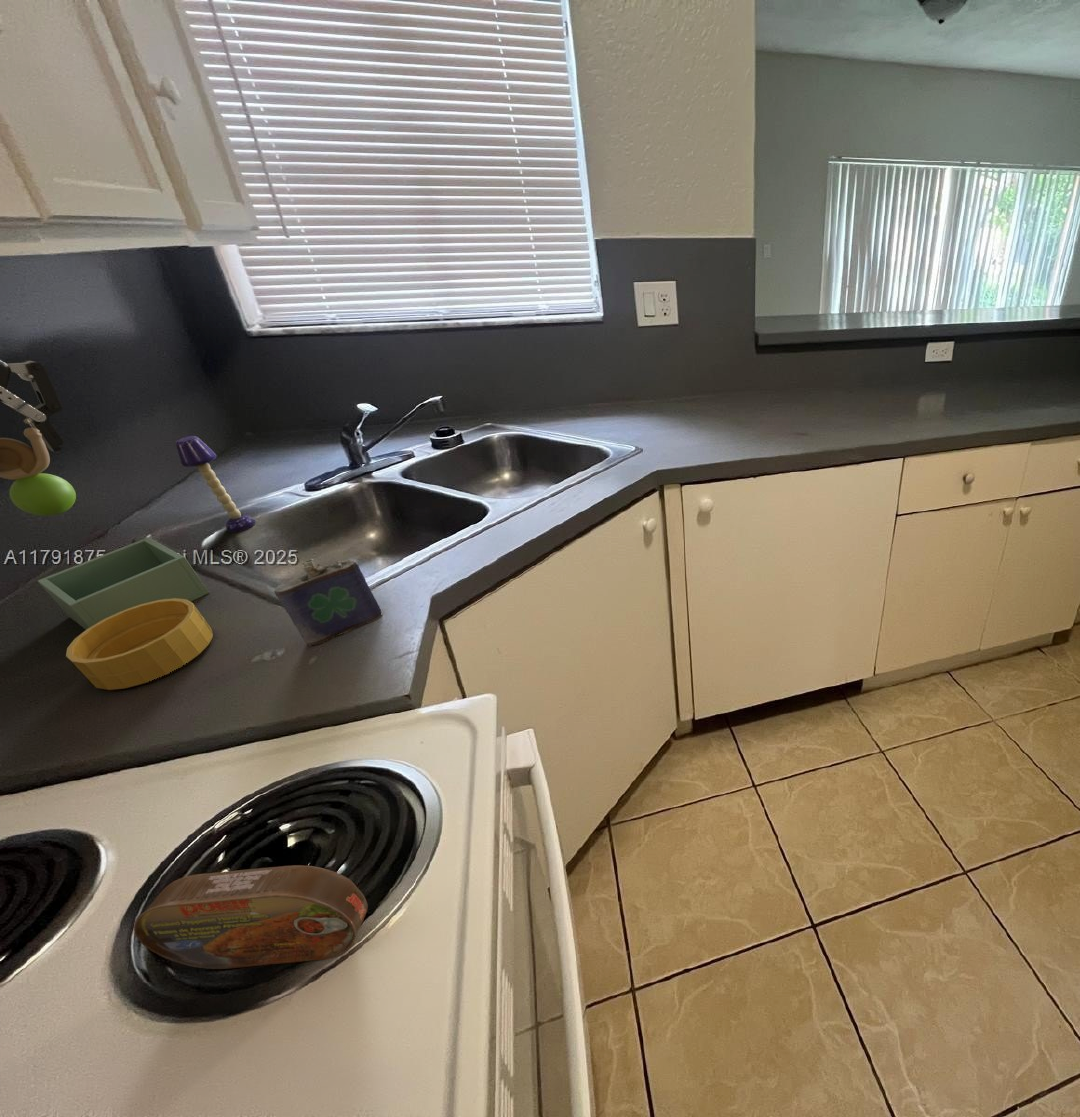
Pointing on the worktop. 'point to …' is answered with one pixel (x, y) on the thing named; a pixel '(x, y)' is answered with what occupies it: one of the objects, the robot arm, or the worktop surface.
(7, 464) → the snail figurine
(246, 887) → the tin
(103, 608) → the bin
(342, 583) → the clover box
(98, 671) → the bowl
